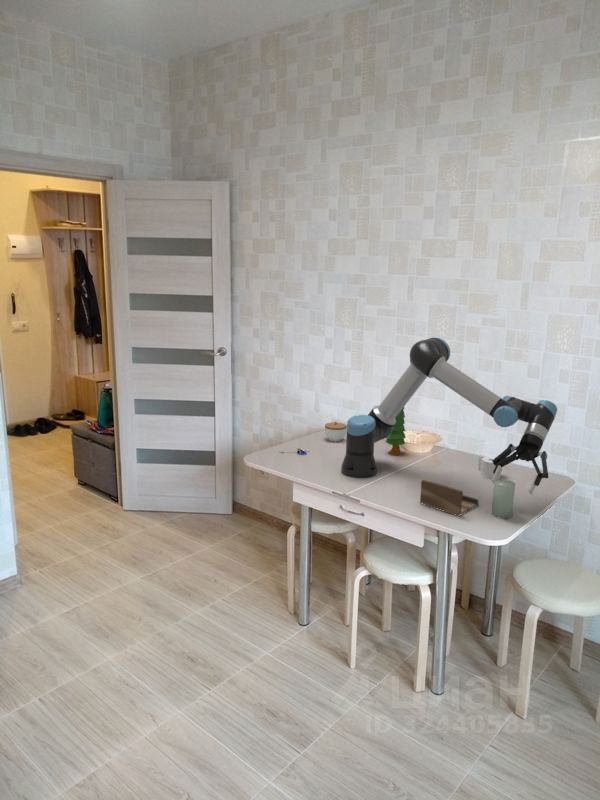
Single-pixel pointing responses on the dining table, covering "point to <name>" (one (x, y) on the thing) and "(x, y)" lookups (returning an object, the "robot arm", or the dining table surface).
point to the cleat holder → (446, 498)
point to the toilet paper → (486, 467)
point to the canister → (503, 498)
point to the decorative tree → (397, 434)
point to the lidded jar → (335, 431)
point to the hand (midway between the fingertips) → (511, 487)
